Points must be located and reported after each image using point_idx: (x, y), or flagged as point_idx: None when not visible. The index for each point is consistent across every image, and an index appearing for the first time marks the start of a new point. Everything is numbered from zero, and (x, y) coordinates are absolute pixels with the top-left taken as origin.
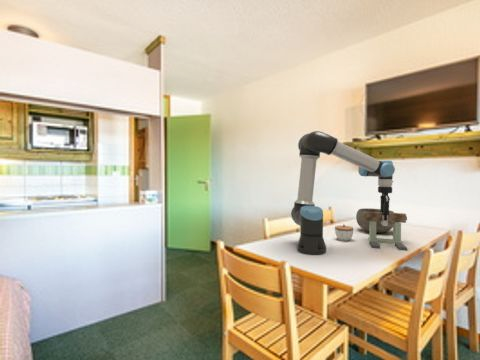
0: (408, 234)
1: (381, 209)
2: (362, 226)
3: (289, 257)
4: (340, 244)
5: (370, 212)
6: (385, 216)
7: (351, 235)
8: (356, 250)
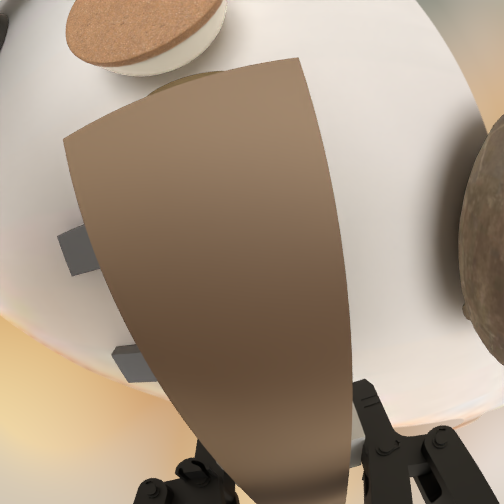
0: (461, 357)
1: (386, 498)
2: (487, 137)
3: None
4: (56, 73)
5: (147, 323)
6: (206, 461)
7: (125, 74)
8: (7, 178)
